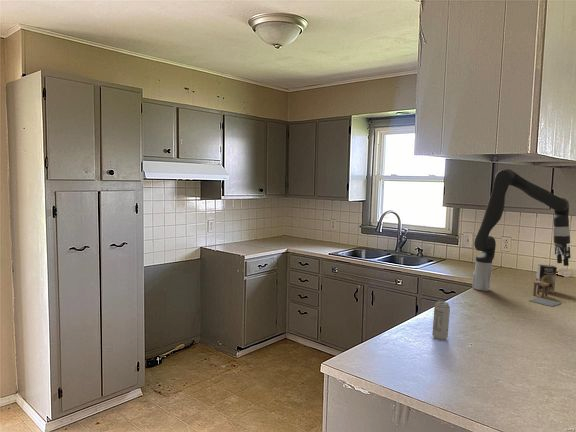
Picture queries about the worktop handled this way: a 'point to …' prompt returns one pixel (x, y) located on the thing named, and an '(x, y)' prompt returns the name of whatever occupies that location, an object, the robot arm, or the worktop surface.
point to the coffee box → (546, 276)
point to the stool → (542, 288)
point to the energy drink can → (441, 320)
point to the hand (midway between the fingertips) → (562, 264)
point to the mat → (545, 302)
